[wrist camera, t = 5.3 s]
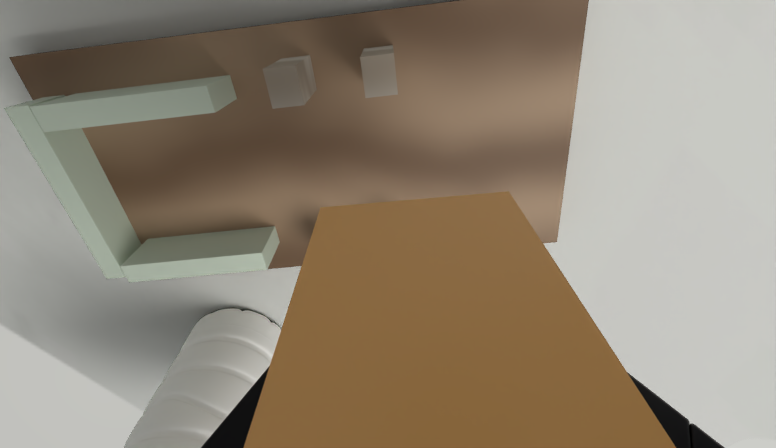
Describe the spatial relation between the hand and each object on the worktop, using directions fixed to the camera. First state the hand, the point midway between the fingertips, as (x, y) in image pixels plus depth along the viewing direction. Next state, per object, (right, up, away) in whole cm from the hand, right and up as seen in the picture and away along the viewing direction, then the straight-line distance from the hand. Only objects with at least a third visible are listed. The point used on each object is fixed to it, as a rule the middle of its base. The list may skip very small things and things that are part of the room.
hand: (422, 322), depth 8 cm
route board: (-4, +6, +11) cm, 13 cm away
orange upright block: (0, +1, +1) cm, 1 cm away
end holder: (-11, +4, +10) cm, 16 cm away
